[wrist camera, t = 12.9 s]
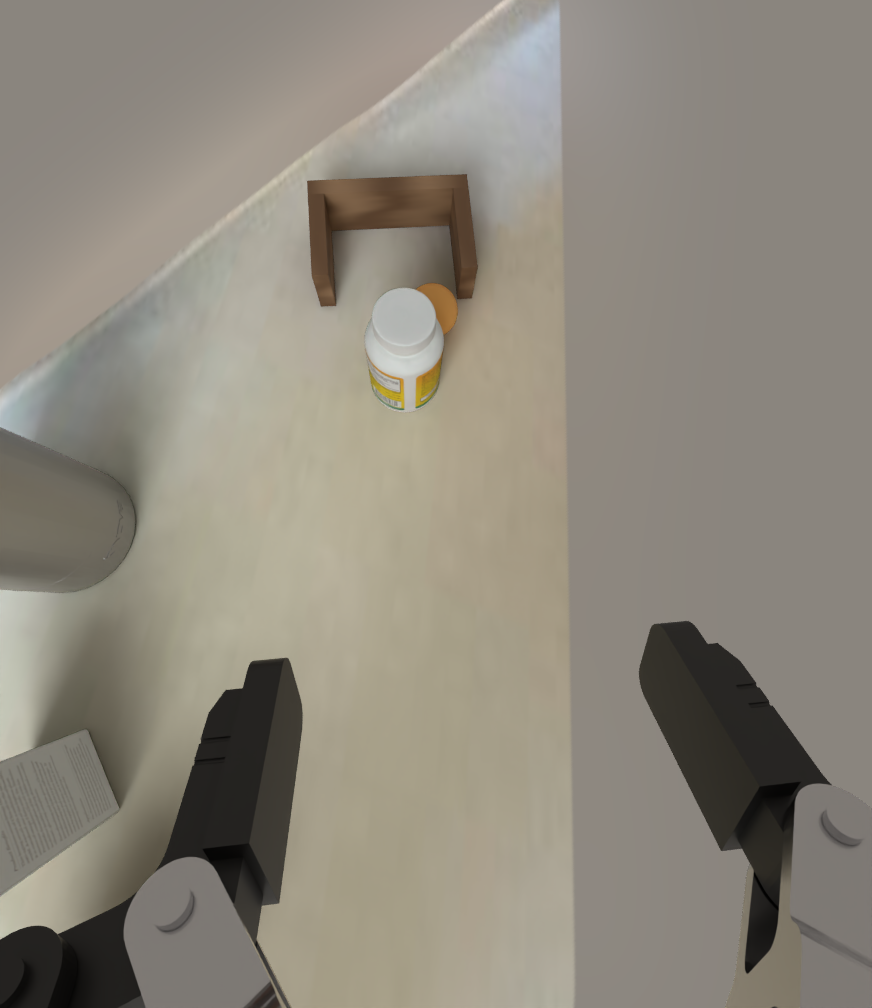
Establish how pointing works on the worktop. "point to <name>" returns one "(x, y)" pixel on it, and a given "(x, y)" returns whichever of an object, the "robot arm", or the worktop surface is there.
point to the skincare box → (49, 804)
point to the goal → (390, 219)
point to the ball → (441, 304)
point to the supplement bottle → (404, 350)
